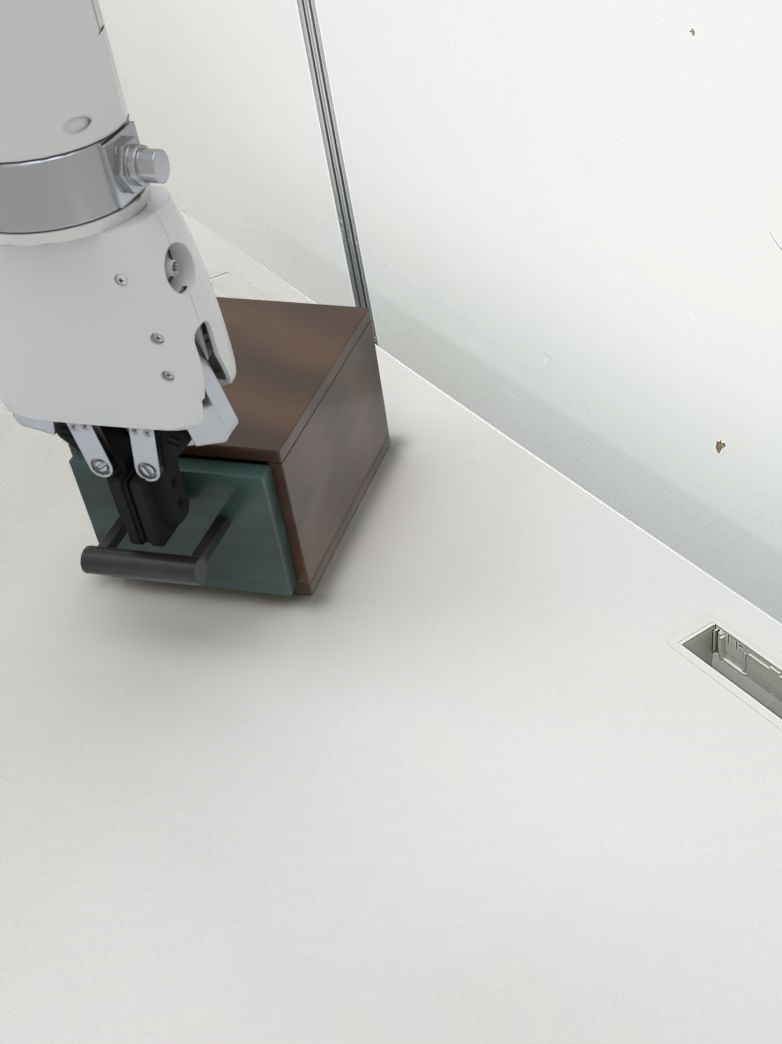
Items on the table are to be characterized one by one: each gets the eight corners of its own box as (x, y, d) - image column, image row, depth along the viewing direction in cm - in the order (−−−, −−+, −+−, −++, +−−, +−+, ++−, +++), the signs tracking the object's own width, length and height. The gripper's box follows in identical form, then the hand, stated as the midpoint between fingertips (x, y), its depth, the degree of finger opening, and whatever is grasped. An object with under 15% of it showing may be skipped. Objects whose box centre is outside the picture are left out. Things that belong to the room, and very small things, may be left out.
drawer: (258, 657, 64) (224, 537, 59) (69, 635, 66) (20, 517, 61) (368, 452, 78) (349, 340, 73) (209, 438, 79) (179, 327, 74)
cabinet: (312, 595, 69) (279, 450, 63) (114, 574, 71) (63, 431, 65) (390, 444, 80) (369, 307, 74) (217, 428, 82) (182, 293, 75)
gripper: (254, 144, 53) (328, 496, 65) (-70, 129, 55) (59, 472, 67) (179, 222, 48) (275, 591, 60) (-178, 202, 50) (-15, 562, 62)
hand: (160, 527), depth 63 cm, fingers closed
